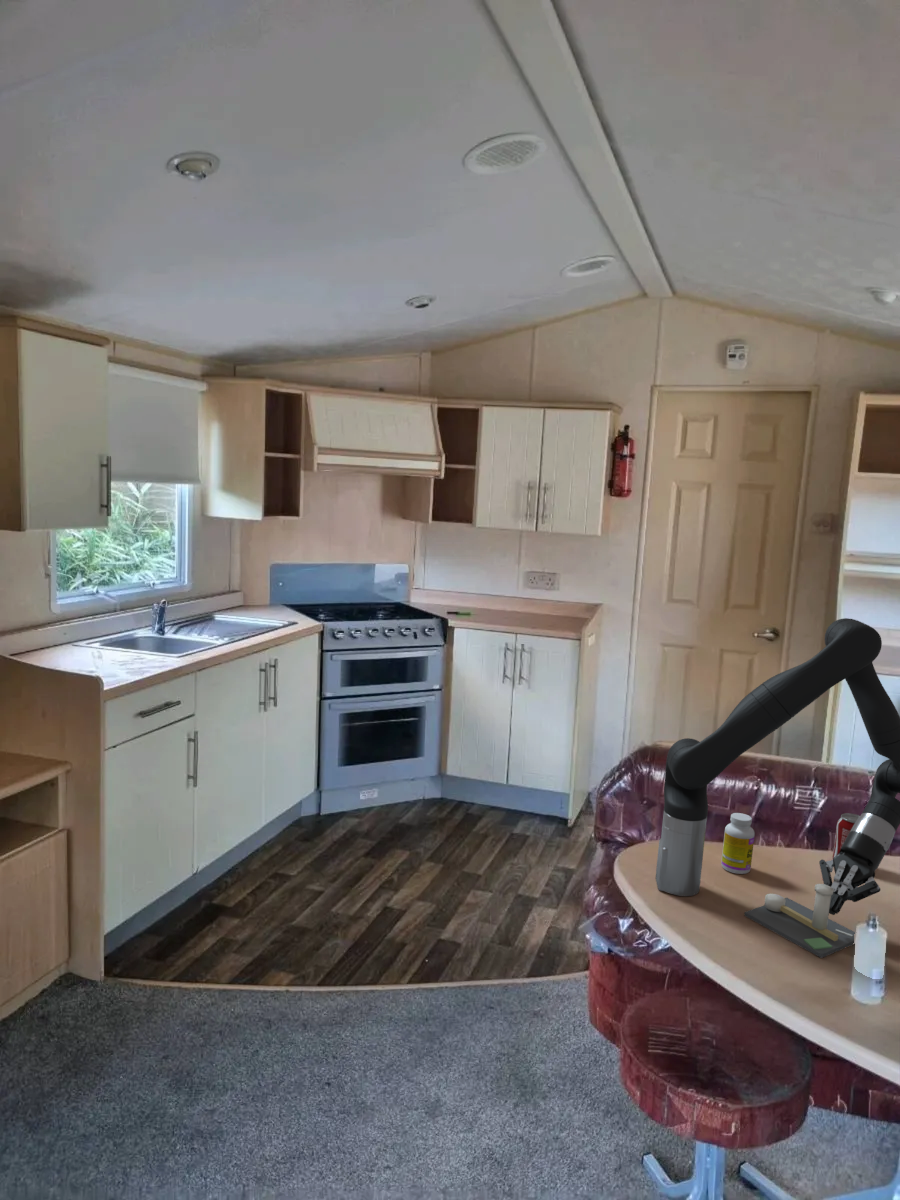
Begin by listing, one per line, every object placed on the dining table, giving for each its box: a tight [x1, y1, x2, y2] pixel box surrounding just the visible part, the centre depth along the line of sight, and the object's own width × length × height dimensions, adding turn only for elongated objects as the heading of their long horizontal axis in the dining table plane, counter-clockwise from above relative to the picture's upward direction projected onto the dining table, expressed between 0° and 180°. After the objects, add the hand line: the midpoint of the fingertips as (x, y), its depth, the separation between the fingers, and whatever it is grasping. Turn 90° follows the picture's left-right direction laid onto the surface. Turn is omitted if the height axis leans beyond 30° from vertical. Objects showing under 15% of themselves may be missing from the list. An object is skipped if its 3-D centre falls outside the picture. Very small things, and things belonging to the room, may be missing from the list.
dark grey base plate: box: [744, 897, 855, 959], centre depth 178 cm, size 14×18×1 cm
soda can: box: [832, 812, 861, 859], centre depth 209 cm, size 7×7×12 cm
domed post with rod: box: [763, 883, 838, 941], centre depth 177 cm, size 17×4×10 cm, turn 29°
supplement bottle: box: [720, 812, 755, 875], centre depth 203 cm, size 7×7×13 cm
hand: (828, 912), depth 174 cm, fingers closed
